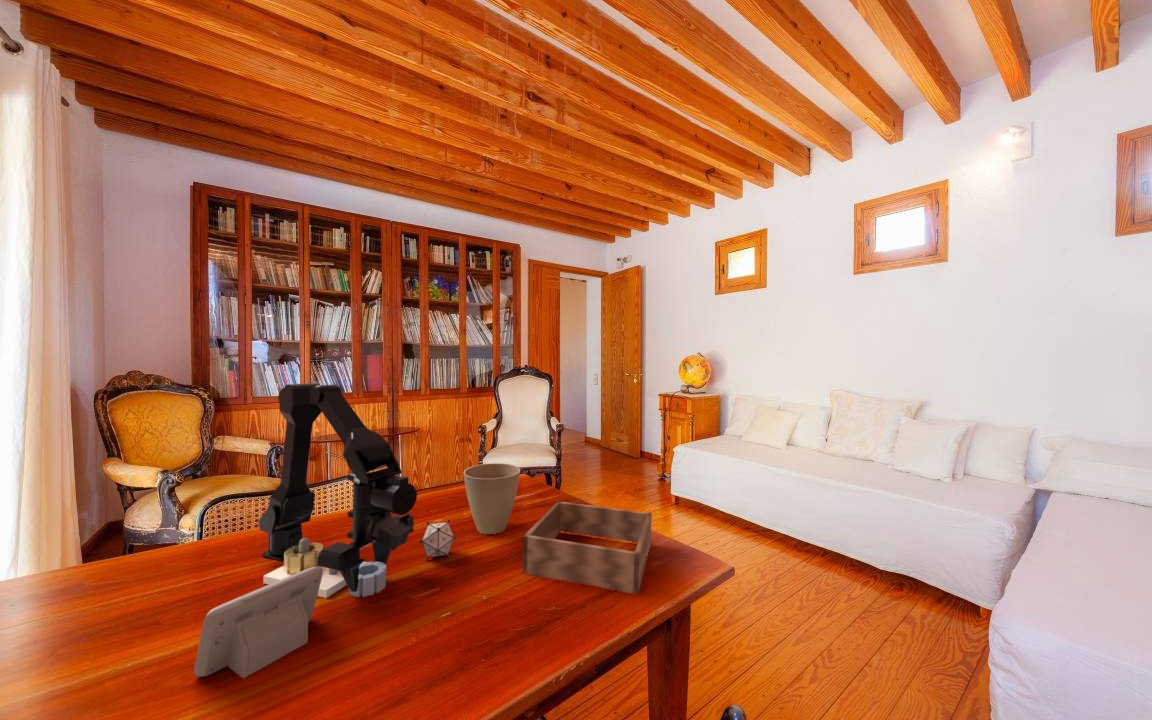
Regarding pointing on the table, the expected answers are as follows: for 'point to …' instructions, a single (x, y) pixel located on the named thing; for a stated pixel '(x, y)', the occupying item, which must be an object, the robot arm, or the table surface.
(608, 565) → the open rectangular box frame
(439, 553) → the game die
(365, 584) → the slate gear
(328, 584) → the gear board
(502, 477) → the plant pot
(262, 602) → the digital clock
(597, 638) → the table surface
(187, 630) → the table surface
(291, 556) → the brass gear
